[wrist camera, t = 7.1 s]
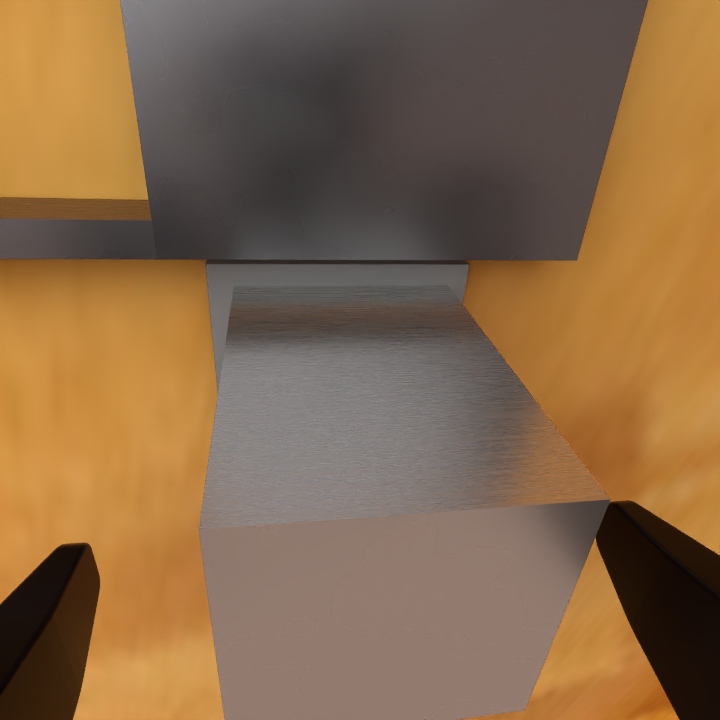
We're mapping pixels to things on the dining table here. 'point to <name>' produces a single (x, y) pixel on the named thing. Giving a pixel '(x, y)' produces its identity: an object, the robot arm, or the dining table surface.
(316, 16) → the plate with rectangular hole
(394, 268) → the pad
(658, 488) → the dining table surface
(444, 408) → the brushed metal block
